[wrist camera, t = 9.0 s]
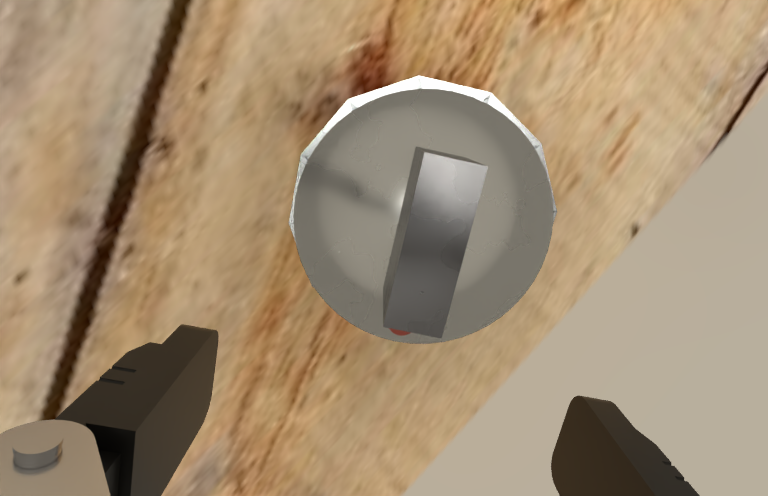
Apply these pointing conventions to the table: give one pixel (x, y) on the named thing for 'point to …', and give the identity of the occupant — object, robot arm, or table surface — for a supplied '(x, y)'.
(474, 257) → the lid
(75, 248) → the table surface
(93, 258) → the table surface
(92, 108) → the table surface
